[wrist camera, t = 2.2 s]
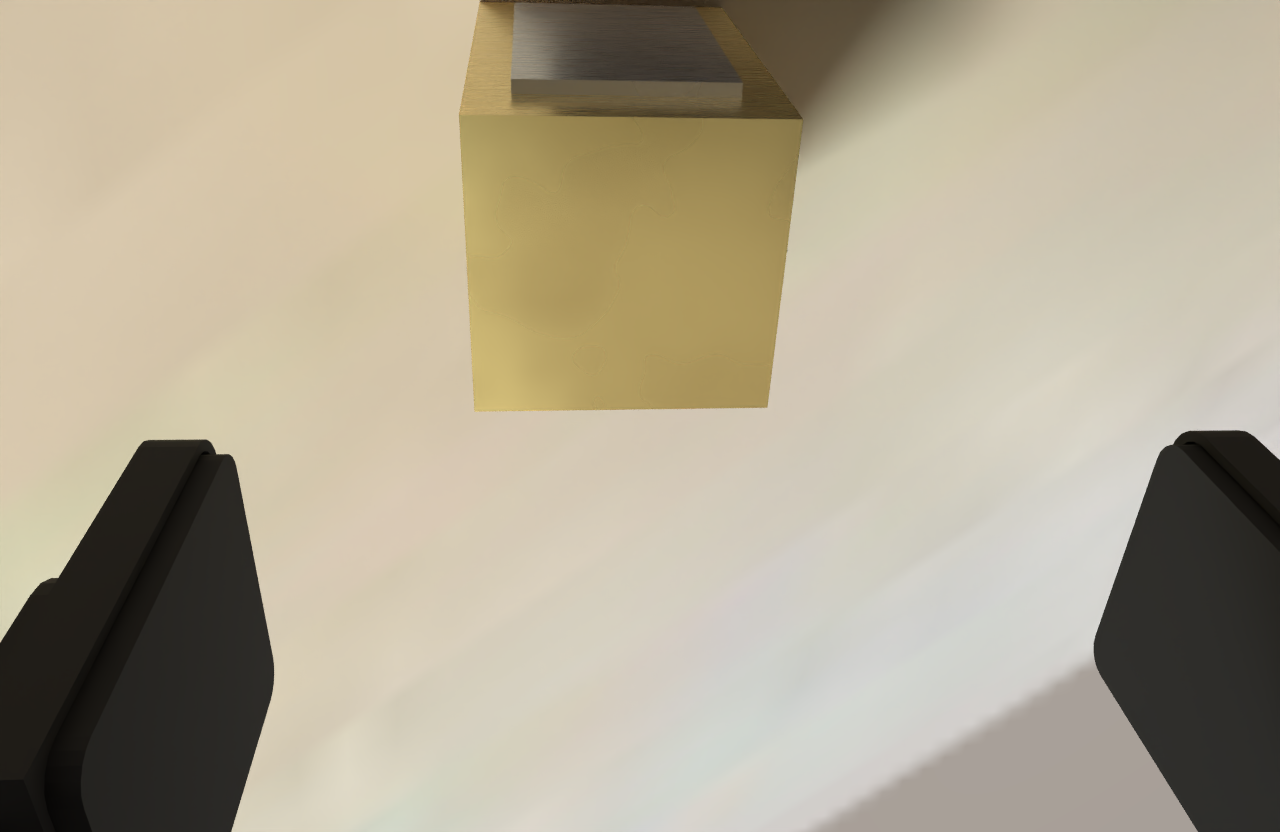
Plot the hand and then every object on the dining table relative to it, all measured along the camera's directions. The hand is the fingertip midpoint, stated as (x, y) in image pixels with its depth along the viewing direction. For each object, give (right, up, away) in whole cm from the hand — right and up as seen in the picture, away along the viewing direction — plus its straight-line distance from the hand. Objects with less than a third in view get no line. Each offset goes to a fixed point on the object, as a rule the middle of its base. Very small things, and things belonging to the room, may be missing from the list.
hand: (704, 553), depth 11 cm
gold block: (-1, +7, +10) cm, 12 cm away
